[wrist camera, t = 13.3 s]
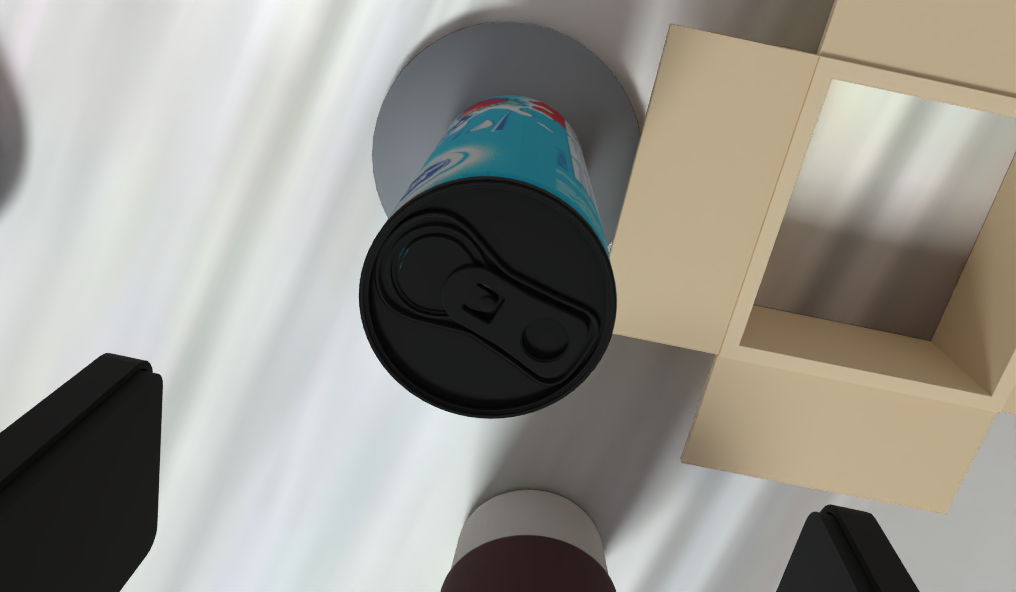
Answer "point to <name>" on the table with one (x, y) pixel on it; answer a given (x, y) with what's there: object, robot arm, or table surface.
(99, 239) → the table surface
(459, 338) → the beverage can
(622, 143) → the coaster
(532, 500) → the coffee cup
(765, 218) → the carton
